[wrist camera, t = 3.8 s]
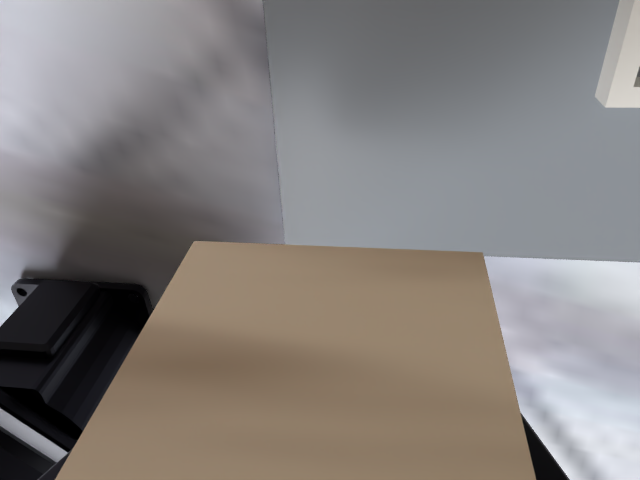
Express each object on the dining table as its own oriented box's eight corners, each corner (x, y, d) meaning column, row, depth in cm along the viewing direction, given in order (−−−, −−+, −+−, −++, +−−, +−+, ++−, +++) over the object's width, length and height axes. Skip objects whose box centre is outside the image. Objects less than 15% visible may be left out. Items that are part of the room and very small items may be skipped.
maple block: (451, 438, 11) (481, 747, 7) (231, 419, 12) (144, 694, 8) (482, 251, 9) (559, 580, 5) (194, 241, 9) (31, 521, 5)
